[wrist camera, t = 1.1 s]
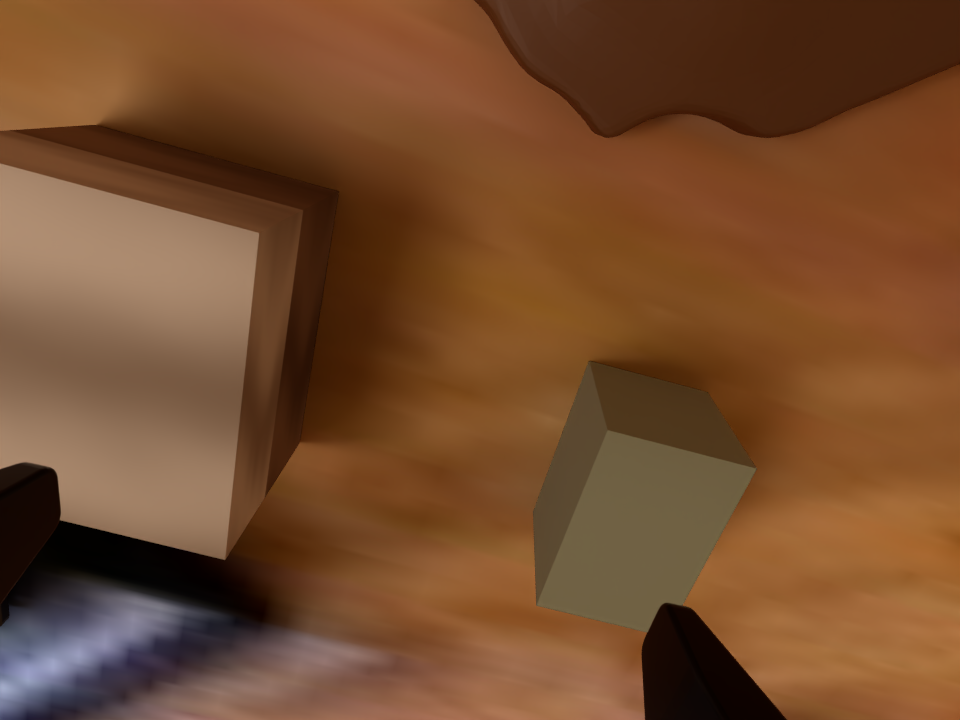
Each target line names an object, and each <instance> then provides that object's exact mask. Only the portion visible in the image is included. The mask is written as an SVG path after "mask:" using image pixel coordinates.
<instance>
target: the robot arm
mask: <svg viewBox="0 0 960 720" xmlns="http://www.w3.org/2000/svg"><path fill="white" fill-rule="evenodd" d="M60 516H61V505H60V495H59V484H58V476H57V473H56V471H55V470H54V469H53V468H51V467H48V466H43V465H39V464H34V463H29V462H21V463H17V464H14V465H11V466H8V467H5V468H2V469H0V626H2V625H3V624H4V623H5V621H6V620H7V619H8V618H9V607H8V596H7V595H8V594H9V592H10V591H11V589H12V588H13V587H14V585H15V584H16V583H17V581H18V580H19V578H20V577H21V576H22V574H23V573H24V572H25V570H26V569H27V567H28V566H29V565H30V563H31V562H32V561H33V559H34V558H35V557H36V555H37V554H38V552H39V551H40V550H41V548H42V547H43V546H44V544H45V543H46V541H47V540H48V539H49V537H50V536H51V535H52V533H53V532H54V530H55V529H56V527H57V525H58V523H59V520H60ZM642 672H643V690H644V707H645V720H787V719H786V718H785V717H784V716H783V715H782V713H781V712H780V711H779V710H778V709H777V707H776V706H775V705H774V704H773V703H772V702H771V700H770V699H769V698H768V697H767V696H766V695H765V693H764V692H763V691H762V690H761V689H760V688H759V686H758V685H757V684H756V683H755V682H754V680H753V679H752V678H751V677H750V676H749V675H748V673H747V672H746V671H745V670H744V669H743V668H742V666H741V665H740V664H739V663H738V662H737V661H736V659H735V658H734V657H733V656H732V655H731V653H730V652H729V651H728V650H727V649H726V648H725V646H724V645H723V644H722V643H721V642H720V641H719V639H718V638H717V637H716V636H715V635H714V634H713V632H712V631H711V630H710V629H709V628H708V626H707V625H706V624H705V623H704V622H703V621H702V619H701V618H700V617H699V616H698V615H697V614H696V612H695V611H694V610H692V609H691V608H689V607H686V606H682V605H677V604H672V603H664V604H662V605H661V606H660V608H659V609H658V611H657V613H656V615H655V618H654V620H653V622H652V624H651V626H650V628H649V630H648V632H647V634H646V637H645V639H644V642H643V646H642Z"/></svg>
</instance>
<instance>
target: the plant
mask: <svg viewBox="0 0 960 720" xmlns="http://www.w3.org/2000/svg"><path fill="white" fill-rule="evenodd" d="M474 1H475V2H476V3H477V4H478V5H479V6H480V7H481V8H482V9H483V10H484V11H485V12H486V13H487V15H488V16H489V17H490V19H491V20H492V22H493V24H494V26H495V27H496V29H497V31H498V33H499V34H500V36H501V38H502V40H503V41H504V43H505V45H506V46H507V48H508V49H509V51H510V52H511V54H512V55H513V56H514V58H515V59H516V61H517V62H518V63H519V65H520V66H521V67H522V68H523V69H524V70H525V71H526V72H527V73H528V74H529V75H530V76H532V77H533V78H534V79H536V80H537V81H538V82H540V83H542V84H543V85H545V86H547V87H549V88H551V89H552V90H554V91H555V92H557V93H558V94H560V95H561V96H562V97H563V98H564V99H565V100H567V101H568V103H569V104H570V105H571V106H572V107H573V108H574V109H575V110H576V111H577V112H578V114H579V115H580V116H581V117H582V118H583V119H584V121H585V122H586V123H587V125H588V126H589V127H590V129H591V130H592V131H593V132H594V133H595V134H598V135H600V136H603V137H607V138H610V137H615V136H618V135H620V134H622V133H624V132H626V131H628V130H629V129H631V128H633V127H635V126H637V125H638V124H640V123H642V122H645V121H647V120H649V119H652V118H655V117H658V116H662V115H667V114H693V115H698V116H702V117H706V118H709V119H711V120H714V121H717V122H719V123H721V124H723V125H725V126H727V127H728V128H730V129H732V130H734V131H736V132H738V133H741V134H744V135H749V136H755V137H763V138H771V137H780V136H784V135H789V134H793V133H797V132H800V131H802V130H805V129H808V128H811V127H813V126H816V125H818V124H820V123H822V122H824V121H826V120H828V119H830V118H832V117H834V116H836V115H838V114H841V113H843V112H845V111H847V110H849V109H852V108H854V107H857V106H859V105H862V104H864V103H867V102H870V101H872V100H875V99H877V98H880V97H882V96H884V95H887V94H889V93H892V92H894V91H896V90H899V89H901V88H903V87H906V86H908V85H911V84H913V83H915V82H918V81H920V80H923V79H925V78H927V77H930V76H932V75H935V74H937V73H939V72H942V71H944V70H946V69H949V68H951V67H953V66H956V65H958V64H960V0H474Z"/></svg>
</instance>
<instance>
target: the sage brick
mask: <svg viewBox="0 0 960 720" xmlns="http://www.w3.org/2000/svg"><path fill="white" fill-rule="evenodd" d="M756 469H757V468H756V467H755V465H754V464H753V462H752V460H751V459H750V457H749V456H748V454H747V453H746V451H745V450H744V448H743V446H742V445H741V443H740V442H739V440H738V439H737V437H736V436H735V434H734V432H733V431H732V429H731V428H730V426H729V425H728V423H727V422H726V420H725V418H724V417H723V415H722V414H721V412H720V411H719V409H718V408H717V406H716V404H715V403H714V401H713V400H712V398H711V397H710V395H709V394H708V392H705V391H701V390H697V389H694V388H690V387H686V386H682V385H679V384H675V383H671V382H667V381H663V380H660V379H656V378H652V377H648V376H645V375H641V374H637V373H633V372H630V371H626V370H622V369H618V368H615V367H611V366H607V365H603V364H599V363H596V362H592V361H589V362H588V365H587V368H586V370H585V373H584V376H583V378H582V381H581V384H580V386H579V389H578V392H577V395H576V397H575V400H574V403H573V405H572V408H571V411H570V413H569V416H568V419H567V422H566V424H565V427H564V430H563V432H562V435H561V438H560V440H559V443H558V446H557V449H556V451H555V454H554V457H553V459H552V462H551V465H550V467H549V470H548V473H547V476H546V478H545V481H544V484H543V486H542V489H541V492H540V494H539V497H538V500H537V503H536V505H535V508H534V511H533V524H534V552H535V581H536V606H540V607H544V608H548V609H553V610H557V611H561V612H565V613H569V614H573V615H577V616H581V617H586V618H590V619H594V620H598V621H602V622H606V623H610V624H614V625H619V626H623V627H627V628H631V629H635V630H639V631H643V632H648V630H649V628H650V626H651V624H652V622H653V620H654V618H655V615H656V613H657V611H658V609H659V608H660V606H661V605H662V604H664V603H672V604H677V605H683V603H684V602H685V600H686V598H687V596H688V594H689V592H690V591H691V589H692V587H693V585H694V583H695V581H696V580H697V578H698V576H699V574H700V572H701V570H702V569H703V567H704V565H705V563H706V561H707V559H708V558H709V556H710V554H711V552H712V550H713V548H714V547H715V545H716V543H717V541H718V539H719V537H720V536H721V534H722V532H723V530H724V528H725V526H726V525H727V523H728V521H729V519H730V517H731V515H732V514H733V512H734V510H735V508H736V506H737V504H738V502H739V501H740V499H741V497H742V495H743V493H744V491H745V490H746V488H747V486H748V484H749V482H750V480H751V479H752V477H753V475H754V473H755V471H756Z"/></svg>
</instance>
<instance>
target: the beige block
mask: <svg viewBox="0 0 960 720" xmlns="http://www.w3.org/2000/svg"><path fill="white" fill-rule="evenodd" d="M338 193H339V192H338V191H335V190H331V189H327V188H324V187H320V186H316V185H313V184H309V183H305V182H302V181H298V180H294V179H291V178H287V177H283V176H280V175H276V174H272V173H269V172H265V171H261V170H258V169H254V168H251V167H247V166H243V165H240V164H236V163H232V162H229V161H225V160H221V159H218V158H214V157H210V156H207V155H203V154H199V153H196V152H192V151H188V150H185V149H181V148H177V147H174V146H170V145H166V144H163V143H159V142H156V141H152V140H148V139H145V138H141V137H137V136H134V135H130V134H126V133H123V132H119V131H115V130H112V129H108V128H104V127H101V126H97V125H86V126H70V127H55V128H40V129H24V130H9V131H0V469H2V468H5V467H8V466H11V465H14V464H17V463H21V462H29V463H34V464H39V465H43V466H48V467H51V468H53V469H54V470H55V471H56V473H57V476H58V484H59V495H60V505H61V516H60V520H62V521H66V522H70V523H74V524H79V525H83V526H87V527H91V528H95V529H99V530H103V531H108V532H112V533H116V534H120V535H124V536H128V537H132V538H137V539H141V540H145V541H149V542H153V543H157V544H161V545H166V546H170V547H174V548H178V549H182V550H186V551H190V552H195V553H199V554H203V555H207V556H211V557H215V558H219V559H224V560H225V559H226V558H227V556H228V554H229V553H230V551H231V550H232V548H233V547H234V545H235V543H236V542H237V540H238V539H239V537H240V536H241V534H242V532H243V531H244V529H245V528H246V526H247V525H248V523H249V521H250V520H251V518H252V517H253V515H254V514H255V512H256V511H257V509H258V507H259V506H260V504H261V503H262V501H263V500H264V498H265V496H266V495H267V493H268V492H269V490H270V489H271V487H272V485H273V484H274V482H275V481H276V479H277V478H278V476H279V474H280V473H281V471H282V470H283V468H284V467H285V465H286V463H287V462H288V460H289V459H290V457H291V456H292V454H293V452H294V451H295V449H296V448H297V446H298V445H299V443H300V436H301V430H302V424H303V417H304V411H305V404H306V398H307V391H308V385H309V379H310V372H311V366H312V359H313V353H314V347H315V340H316V334H317V327H318V321H319V315H320V308H321V302H322V295H323V289H324V282H325V276H326V270H327V263H328V257H329V250H330V244H331V238H332V231H333V225H334V218H335V212H336V206H337V199H338Z"/></svg>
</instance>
